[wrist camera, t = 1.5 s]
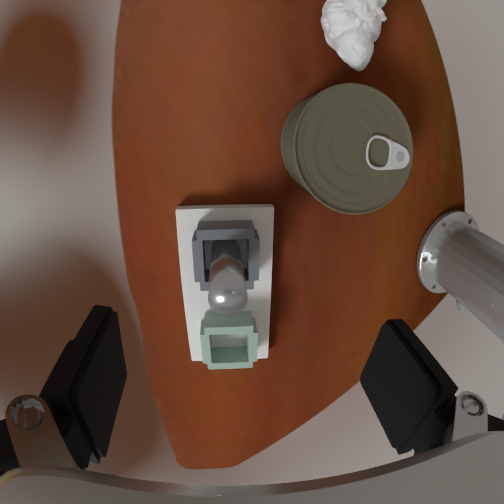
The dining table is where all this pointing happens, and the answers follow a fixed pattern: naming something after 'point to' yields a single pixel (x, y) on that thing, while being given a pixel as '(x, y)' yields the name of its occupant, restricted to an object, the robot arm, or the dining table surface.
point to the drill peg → (227, 278)
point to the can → (348, 148)
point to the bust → (353, 28)
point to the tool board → (197, 282)
